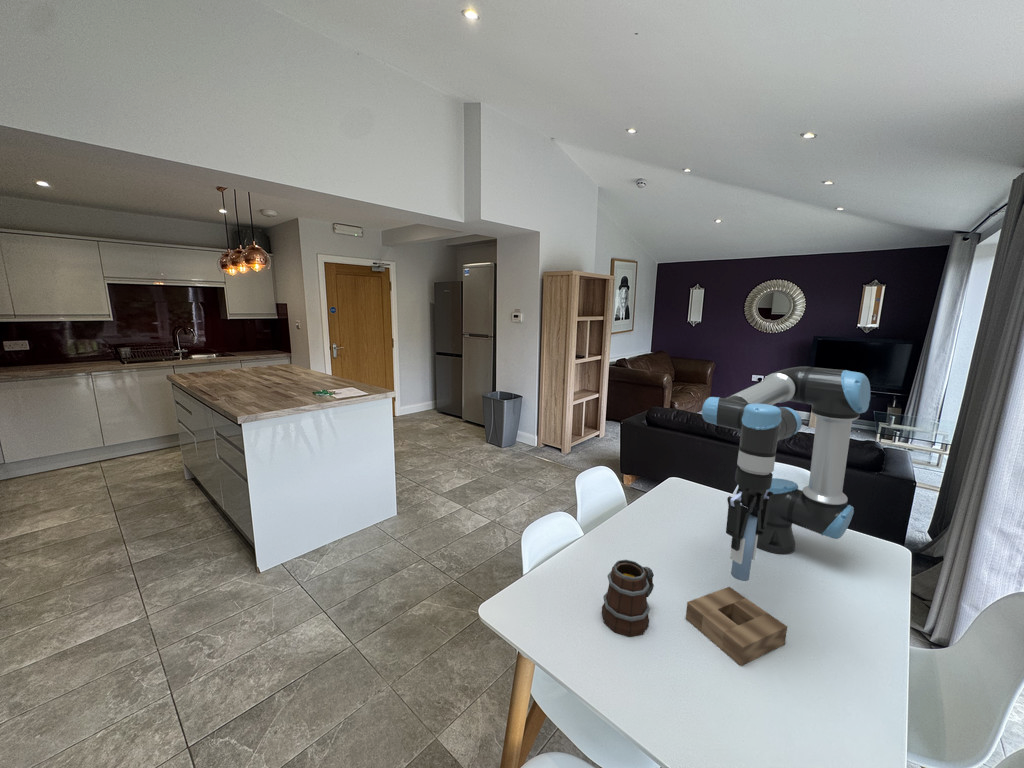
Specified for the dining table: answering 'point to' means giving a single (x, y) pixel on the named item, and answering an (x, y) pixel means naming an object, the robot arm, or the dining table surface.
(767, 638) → the socket block
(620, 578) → the mug
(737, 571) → the peg
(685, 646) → the dining table surface
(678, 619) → the dining table surface
